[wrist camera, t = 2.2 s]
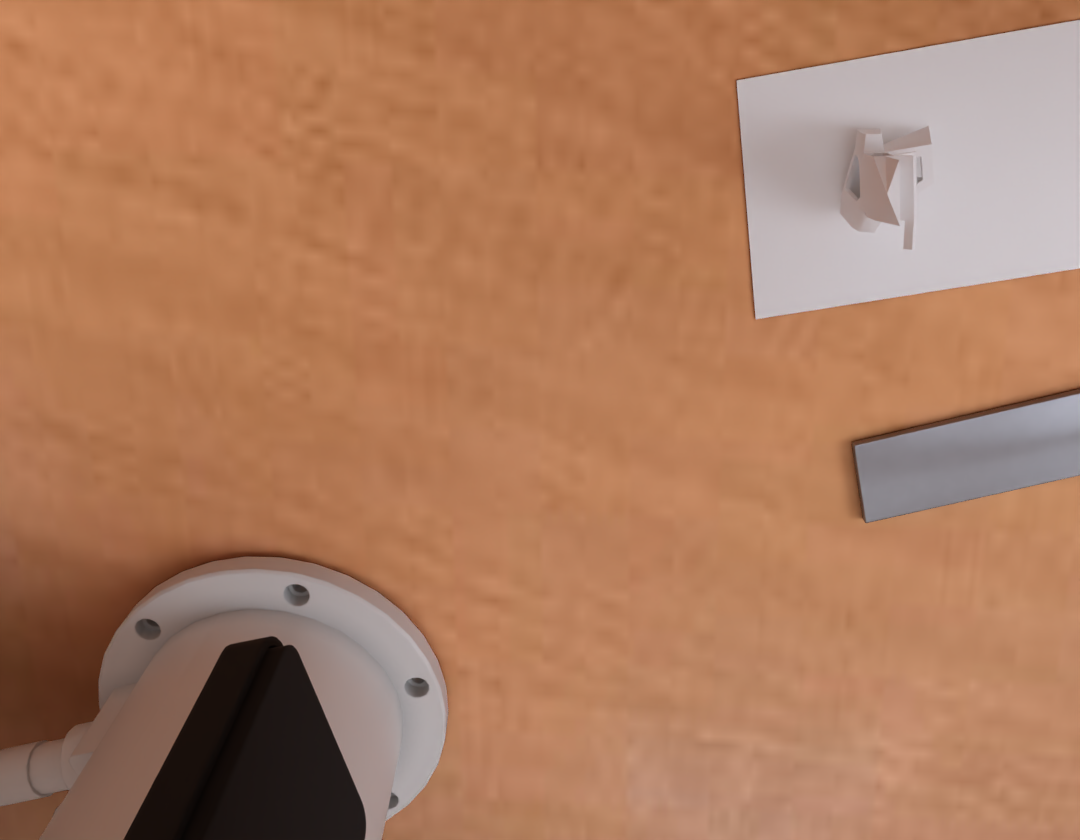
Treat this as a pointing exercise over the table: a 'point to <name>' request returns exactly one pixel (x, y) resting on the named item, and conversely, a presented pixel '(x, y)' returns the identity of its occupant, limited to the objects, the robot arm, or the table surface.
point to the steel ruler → (969, 457)
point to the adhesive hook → (913, 170)
